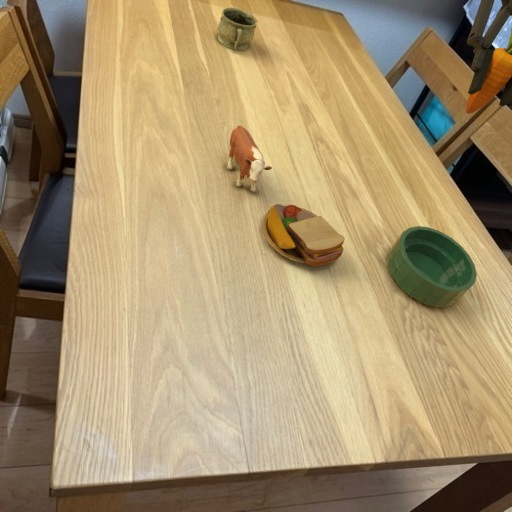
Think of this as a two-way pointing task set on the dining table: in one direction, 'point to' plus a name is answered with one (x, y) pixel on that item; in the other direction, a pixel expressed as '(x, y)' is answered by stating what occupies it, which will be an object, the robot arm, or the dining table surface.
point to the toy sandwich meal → (301, 235)
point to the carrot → (493, 78)
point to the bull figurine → (246, 156)
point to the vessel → (236, 28)
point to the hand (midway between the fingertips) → (490, 97)
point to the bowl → (431, 266)
